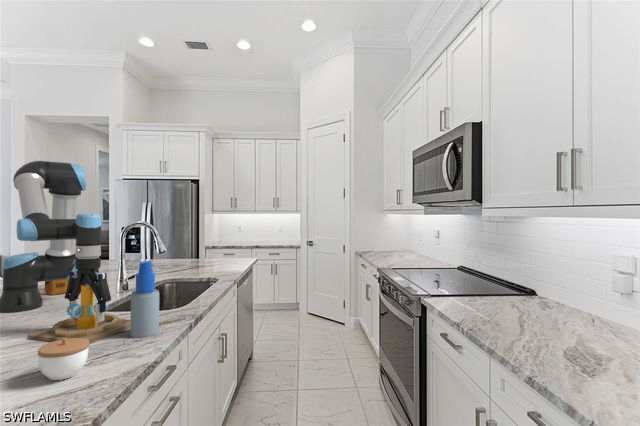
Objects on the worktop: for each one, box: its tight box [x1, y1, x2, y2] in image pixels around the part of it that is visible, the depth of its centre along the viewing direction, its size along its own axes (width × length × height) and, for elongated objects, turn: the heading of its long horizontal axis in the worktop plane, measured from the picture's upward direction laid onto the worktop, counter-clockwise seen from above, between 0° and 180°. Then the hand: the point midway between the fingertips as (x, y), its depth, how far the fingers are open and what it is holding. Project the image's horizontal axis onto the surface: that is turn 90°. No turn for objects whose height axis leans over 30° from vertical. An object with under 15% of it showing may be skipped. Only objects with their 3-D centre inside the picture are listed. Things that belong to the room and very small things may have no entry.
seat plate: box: [27, 318, 131, 345], centre depth 124 cm, size 23×23×1 cm
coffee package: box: [44, 278, 70, 296], centre depth 180 cm, size 10×12×22 cm
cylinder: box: [66, 284, 108, 329], centre depth 124 cm, size 12×10×15 cm
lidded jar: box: [37, 338, 90, 381], centre depth 90 cm, size 11×11×9 cm
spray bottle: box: [129, 260, 160, 339], centre depth 122 cm, size 9×9×25 cm
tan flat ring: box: [52, 313, 120, 337], centre depth 124 cm, size 19×19×2 cm
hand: (87, 320), depth 124 cm, fingers closed on cylinder, 10 cm apart
